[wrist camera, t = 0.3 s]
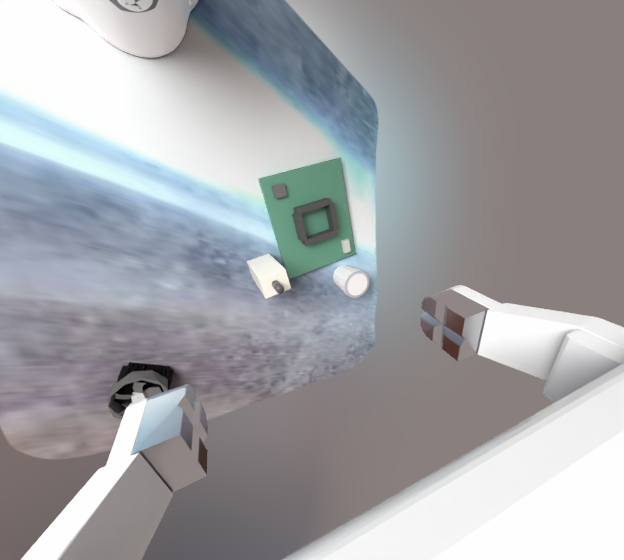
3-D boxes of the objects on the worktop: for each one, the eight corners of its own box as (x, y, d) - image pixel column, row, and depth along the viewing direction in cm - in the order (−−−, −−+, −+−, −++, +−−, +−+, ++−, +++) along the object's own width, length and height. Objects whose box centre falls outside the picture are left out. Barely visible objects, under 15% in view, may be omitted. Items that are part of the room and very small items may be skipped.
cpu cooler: (114, 376, 45) (175, 380, 50) (122, 358, 50) (177, 363, 55) (99, 423, 47) (160, 423, 52) (109, 401, 52) (164, 402, 57)
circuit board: (258, 179, 50) (262, 178, 46) (337, 158, 55) (346, 156, 51) (287, 277, 59) (292, 282, 56) (352, 252, 64) (361, 256, 61)
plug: (246, 261, 54) (262, 284, 41) (268, 253, 55) (290, 274, 42) (252, 277, 56) (269, 305, 43) (273, 269, 57) (296, 294, 44)
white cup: (342, 292, 67) (356, 303, 61) (325, 278, 63) (339, 288, 57) (358, 272, 67) (374, 281, 61) (343, 257, 63) (358, 264, 57)
